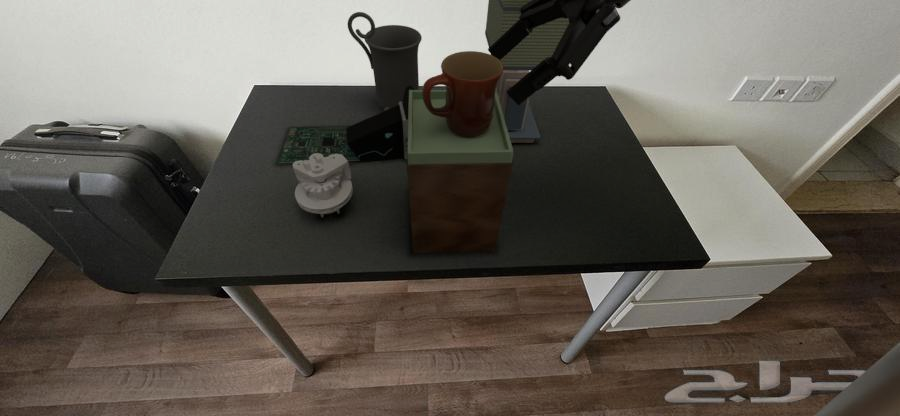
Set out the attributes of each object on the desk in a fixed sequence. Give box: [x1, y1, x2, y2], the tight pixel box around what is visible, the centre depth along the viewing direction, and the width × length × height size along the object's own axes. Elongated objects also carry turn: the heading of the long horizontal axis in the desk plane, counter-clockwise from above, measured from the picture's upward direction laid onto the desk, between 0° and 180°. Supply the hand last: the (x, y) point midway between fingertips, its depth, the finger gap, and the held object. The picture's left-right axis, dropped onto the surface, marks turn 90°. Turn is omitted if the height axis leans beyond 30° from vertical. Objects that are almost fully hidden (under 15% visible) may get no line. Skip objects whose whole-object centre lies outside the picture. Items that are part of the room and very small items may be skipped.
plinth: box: [406, 103, 514, 255], centre depth 67 cm, size 16×18×22 cm
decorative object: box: [346, 86, 415, 162], centre depth 83 cm, size 8×18×15 cm, turn 102°
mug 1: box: [347, 11, 423, 112], centre depth 93 cm, size 19×15×25 cm
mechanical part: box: [292, 153, 354, 218], centre depth 72 cm, size 11×12×12 cm
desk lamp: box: [484, 0, 569, 144], centre depth 86 cm, size 18×14×33 cm
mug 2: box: [421, 50, 504, 137], centre depth 55 cm, size 12×9×10 cm
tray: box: [408, 89, 515, 165], centre depth 59 cm, size 15×17×2 cm
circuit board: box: [278, 125, 361, 164], centre depth 90 cm, size 14×20×1 cm
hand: (501, 75), depth 57 cm, fingers open, 13 cm apart
